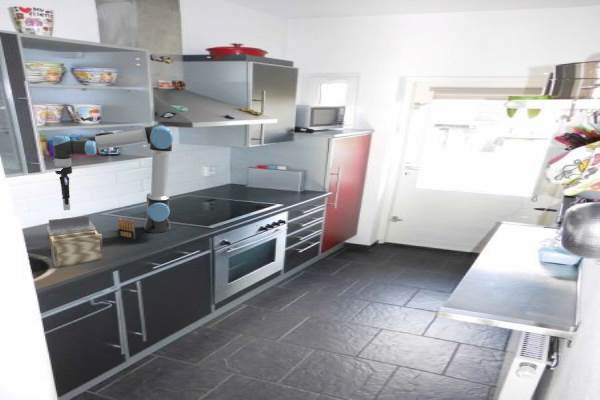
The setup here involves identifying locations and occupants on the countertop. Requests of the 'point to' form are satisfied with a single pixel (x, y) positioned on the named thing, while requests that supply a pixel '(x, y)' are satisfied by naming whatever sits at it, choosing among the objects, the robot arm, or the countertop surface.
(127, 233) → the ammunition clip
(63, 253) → the housing
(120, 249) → the countertop surface
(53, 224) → the lid
